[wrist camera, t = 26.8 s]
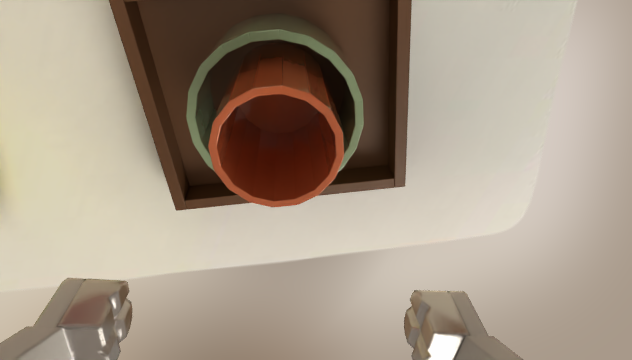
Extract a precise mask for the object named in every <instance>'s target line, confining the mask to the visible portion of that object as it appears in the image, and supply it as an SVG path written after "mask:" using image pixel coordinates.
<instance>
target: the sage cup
mask: <svg viewBox="0 0 632 360" xmlns="http://www.w3.org/2000/svg"><path fill="white" fill-rule="evenodd" d="M277 39H279V40H284V41H288V42H293V43H297V44H301V45H306V46H307V47H309V48H311V49H312V50H314V51H316V52H317V53H319V54H321V55H322V56H324V57H326V58H327V59H329V60H330V62H331V63H332V64H333V65H334V66H335V67H336V69H337V70H338V71H339V72H340V73H341V75H342V76H343V88H344V96H343V100H342V104H341V107H340V111H339V114H338V118H339V121H340V124H341V128H342V131H343V142H344V158H343V161H342V163H341V166H340V168H339V171H340V170H341V169H342V168H343V167H344V166H345V164H346V163H347V161H348V160H349V159H350V157H351V156H352V154H353V153H354V152H355V150H356V148H357V145H358V142H359V139H360V136H361V132H362V129H363V125H364V118H363V98H362V95H361V93H360V90H359V87H358V85H357V82H356V79H355V77H354V74H353V72H352V70H351V68H350V66H349V64H348V62H347V60H346V58H345V56H344V54H343V52H342V51H341V49H340V48H339V47H338V46H337V44H336V43H335V42H334V41H333V40H332V38H331V37H330V36H329V35H328V33H326V32H325V31H324V30H322V29H321V28H319V27H317V26H316V25H314V24H313V23H311V22H310V21H308V20H306V19H304V18H300V17H296V16H291V15H287V14H283V13H273V14H263V15H255V16H252V17H250V18H248V19H246V20H244V21H242V22H240V23H238V24H235V25H233V26H232V27H231V28H230V29H229V30H228V31H227V32H226V33H225V34H224V35H223V36H222V37H221V38H220V39H219V40H218V41H217V42H216V43H215V44H214V46H213V47H212V49H211V50H210V52H209V53H208V54H207V56H206V57H205V59H204V60H203V62H202V63H201V65H200V66H199V68H198V71H197V73H196V75H195V77H194V79H193V81H192V84H191V86H190V88H189V91H188V99H187V112H186V119H187V123H188V127H189V131H190V134H191V138H192V142H193V144H194V146H195V147H196V149H197V150H198V152H199V153H200V155H201V156H202V158H203V159H204V161H205V163H206V164H207V165H208V166H209V167H210V168H211V169H212V170H214V169H213V165H212V161H211V157H210V152H209V148H208V143H209V139H210V134H211V129H212V124H213V121H214V118H215V116H216V113H217V111H216V110H215V107H214V103H213V98H212V94H211V89H210V87H211V78H212V68H213V66H215V65H216V64H217V63H218V62H219V61H220V60H221V59H222V58H223V57H224V56H225V55H226V54H227V53H229V52H231V51H233V50H235V49H238V48H240V47H242V46H244V45H246V44H248V43H251V42H258V41H267V40H277ZM339 171H338V172H339Z"/></svg>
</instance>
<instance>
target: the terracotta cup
mask: <svg viewBox="0 0 632 360" xmlns="http://www.w3.org/2000/svg"><path fill="white" fill-rule="evenodd" d="M208 148H209V152H210V157H211V161H212V165H213V169H214V171H215V172H216V173H217V175H218V176H219V177H220V179H221V180H222V181H223V183H224V184H225V185H226V186H227V188H228V189H229V190H231V191H232V192H234V193H236V194H237V195H239V196H240V197H242V198H244V199H245V200H247V201H250V202H252V203H256V204H261V205H265V206H270V207H281V206H291V205H297V204H300V203H302V202H305V201H307V200H309V199H311V198H313V197H315V196H317V195H319V194H320V193H321V192H322V191H323V190H324V189H325V188H326V187H327V186H328V185H329V184H330V183H331V182H332V181H333V180H334V179H335V178H336V176H337V173H338V171H339V168H340V166H341V163H342V161H343V158H344V142H343V131H342V128H341V124H340V121H339V118H338V114H337V111H336V108H335V104H334V101H333V97H332V94H331V91H330V87H329V84H328V81H327V78H326V76H325V74H324V72H323V69H322V67H321V66H320V64H319V63H318V61H317V60H316V59H315V58H314V57H313V56H312V55H311V54H310V53H309V52H307V51H306V50H304V49H303V48H301V47H299V46H296V45H294V44H290V43H285V42H271V43H266V44H263V45H260V46H258V47H256V48H254V49H252V50H251V51H249V52H248V53H247V54H246V55H245V56H244V57H243V58H242V59H241V60H240V61H239V63H238V65H237V66H236V68H235V69H234V71H233V73H232V76H231V78H230V81H229V83H228V86H227V88H226V91H225V93H224V96H223V98H222V101H221V103H220V106H219V108H218V111H217V113H216V116H215V118H214V121H213V124H212V129H211V134H210V139H209V143H208Z"/></svg>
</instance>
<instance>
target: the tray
mask: <svg viewBox="0 0 632 360" xmlns="http://www.w3.org/2000/svg"><path fill="white" fill-rule="evenodd" d="M109 2H110V6H111V9H112V12H113V15H114V18H115V21H116V24H117V27H118V31H119V34H120V37H121V40H122V43H123V46H124V49H125V52H126V55H127V59H128V62H129V65H130V68H131V71H132V74H133V77H134V80H135V84H136V87H137V90H138V93H139V96H140V99H141V102H142V105H143V109H144V112H145V115H146V118H147V121H148V124H149V127H150V130H151V134H152V137H153V140H154V143H155V146H156V149H157V152H158V155H159V158H160V162H161V165H162V168H163V171H164V174H165V177H166V180H167V183H168V187H169V190H170V193H171V196H172V199H173V202H174V205H175V208H176V210H186V209H196V208H205V207H215V206H224V205H233V204H243V203H252V202H250V201H247V200H245V199H244V198H242V197H240V196H239V195H237V194H236V193H234V192H232V191H231V190H229V189H228V188H227V186H226V185H225V184H224V183H223V181H222V180H221V179H220V177H219V176H218V175H217V173H216V172H215V171H214V170H212V169H211V168H210V167H209V166H208V165H207V164H206V163H205V161H204V159H203V158H202V156H201V155H200V153H199V152H198V150H197V149H196V147H195V146H194V144H193V142H192V138H191V134H190V131H189V127H188V123H187V119H186V112H187V99H188V91H189V88H190V86H191V84H192V81H193V79H194V77H195V75H196V73H197V71H198V68H199V66H200V65H201V63H202V62H203V60H204V59H205V57H206V56H207V54H208V53H209V52H210V50H211V49H212V47H213V46H214V44H215V43H216V42H217V41H218V40H219V39H220V38H221V37H222V36H223V35H224V34H225V33H226V32H227V31H228V30H229V29H230V28H231V27H232V26H233V25H235V24H238V23H240V22H242V21H244V20H246V19H248V18H250V17H252V16H255V15H263V14H273V13H283V14H287V15H291V16H296V17H300V18H304V19H306V20H308V21H310V22H311V23H313V24H314V25H316V26H317V27H319V28H321V29H322V30H324V31H325V32H326V33H328V35H329V36H330V37H331V38H332V40H333V41H334V42H335V43H336V44H337V46H338V47H339V48H340V49H341V51H342V52H343V54H344V56H345V58H346V60H347V62H348V64H349V66H350V68H351V70H352V72H353V74H354V77H355V79H356V82H357V85H358V87H359V90H360V93H361V95H362V98H363V118H364V125H363V129H362V132H361V136H360V139H359V142H358V145H357V148H356V150H355V152H354V153H353V154H352V156H351V157H350V159H349V160H348V161H347V163H346V164H345V166H344V167H343V168H342V169H341V170H340V171H339V172H338V173H337V176H336V178H335V179H334V180H333V181H332V182H331V183H330V184H329V185H328V186H327V187H326V188H325V189H324V190H323V191H322V192H321V193H320V194H319V195H328V194H337V193H347V192H356V191H366V190H375V189H384V188H394V187H404V186H405V174H406V145H407V117H408V88H409V60H410V31H411V2H412V0H109ZM271 42H285V43H290V44H294V45H296V46H299V47H301V48H303V49H304V50H306V51H307V52H309V53H310V54H311V55H312V56H313V57H314V58H315V59H316V60H317V61H318V63H319V64H320V66H321V67H322V69H323V72H324V74H325V76H326V78H327V81H328V84H329V87H330V91H331V94H332V97H333V101H334V104H335V108H336V111H337V114H339V111H340V107H341V104H342V100H343V96H344V88H343V76H342V75H341V73H340V72H339V71H338V70H337V69H336V67H335V66H334V65H333V64H332V63H331V62H330V60H329V59H327V58H326V57H324V56H322V55H321V54H319V53H317V52H316V51H314V50H312V49H311V48H309V47H307V46H306V45H301V44H297V43H293V42H288V41H284V40H279V39H277V40H267V41H258V42H251V43H248V44H246V45H244V46H242V47H240V48H238V49H235V50H233V51H231V52H229V53H227V54H226V55H225V56H224V57H223V58H222V59H221V60H220V61H219V62H218V63H217V64H216V65H215V66H213V68H212V78H211V87H210V89H211V94H212V98H213V103H214V107H215V110H216V111H218V108H219V106H220V103H221V101H222V98H223V96H224V93H225V91H226V88H227V86H228V83H229V81H230V78H231V76H232V73H233V71H234V69H235V68H236V66H237V65H238V63H239V61H240V60H241V59H242V58H243V57H244V56H245V55H246V54H247V53H248V52H249V51H251V50H252V49H254V48H256V47H258V46H260V45H263V44H266V43H271ZM317 196H318V195H317Z"/></svg>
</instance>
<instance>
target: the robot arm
mask: <svg viewBox="0 0 632 360" xmlns="http://www.w3.org/2000/svg"><path fill="white" fill-rule="evenodd" d="M128 293H129V288H128V282H126V281H120V280H103V279H79V278H67V279H66V280H64V281H63V282H62V283H61V285H60V286H59V288H58V289H57V291H56V292H55V294H54V295H53V297H52V298H51V300H50V301H49V303H48V305H47V306H46V308H45V309H44V310H43V312H42V313H41V315H40V316H39V318H38V320H37V321H36V323H35V324H34V326H33V327H25V328H24V329H22V330H20V331H19V332H18V333H16V334H14V335H12V336H11V337H9V338H8V339H6V340H5V341H3V342H1V343H0V360H117V359H118V357H119V354H120V346H119V343H120V342H121V341H122V340H123V339H125V338H126V337H127V334H128V331H129V329H130V325H131V320H132V304H131V302H130V301H129V300H128V299H127V298H126V297H127V295H128ZM410 301H411V304H412V306H411V307H410V308H409V309H408V310H407V311H406V314H405V320H404V329H405V336H406V339H407V342H408V343H409V344H410V345H411V346H412V347H413V348H414V350H413V353H412V359H413V360H523V359H522V358H520V357H519V356H518V355H517V354H515V353H514V352H513V351H512V350H510V349H509V348H508V347H506V346H505V345H504V344H503V343H501V342H500V341H499V340H498V339H496V338H495V337H493V336H488V334H487V332H486V330H485V328H484V326H483V324H482V322H481V320H480V319H479V316H478V315H477V313H476V311H475V309H474V307H473V305H472V303H471V301H470V299H469V297H468V295H467V294H466V293H465V292H464V291H424V290H423V291H421V290H415V291H414V292H413V293H412V295H411V298H410Z"/></svg>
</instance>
